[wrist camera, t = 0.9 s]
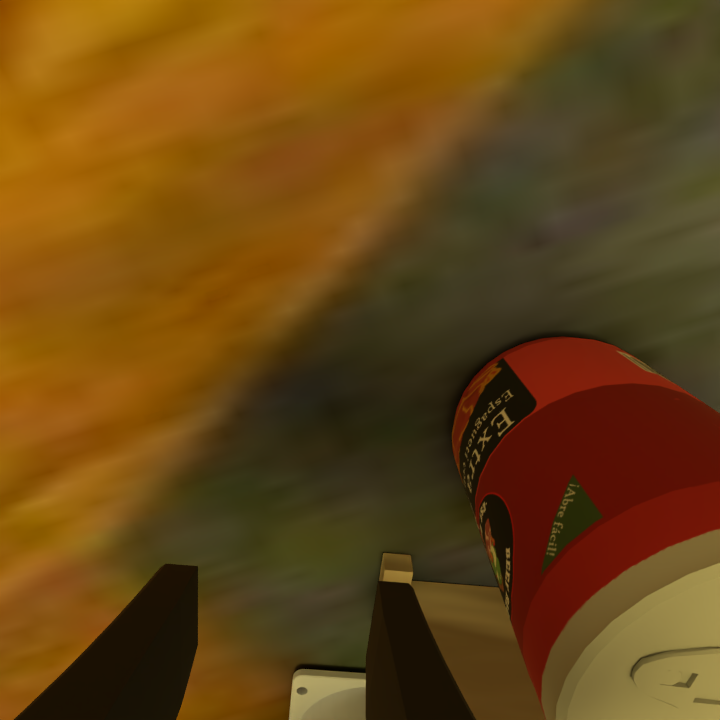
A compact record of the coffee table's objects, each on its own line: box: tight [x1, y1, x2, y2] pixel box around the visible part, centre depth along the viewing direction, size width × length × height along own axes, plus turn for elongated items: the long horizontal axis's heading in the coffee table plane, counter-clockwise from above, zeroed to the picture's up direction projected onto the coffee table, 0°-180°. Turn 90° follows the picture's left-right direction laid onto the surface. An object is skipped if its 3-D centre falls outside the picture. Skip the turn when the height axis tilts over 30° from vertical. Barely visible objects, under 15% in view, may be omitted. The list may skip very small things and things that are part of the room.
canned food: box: [452, 337, 720, 720], centre depth 14 cm, size 8×8×11 cm
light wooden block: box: [379, 553, 546, 720], centre depth 20 cm, size 4×13×6 cm, turn 84°
